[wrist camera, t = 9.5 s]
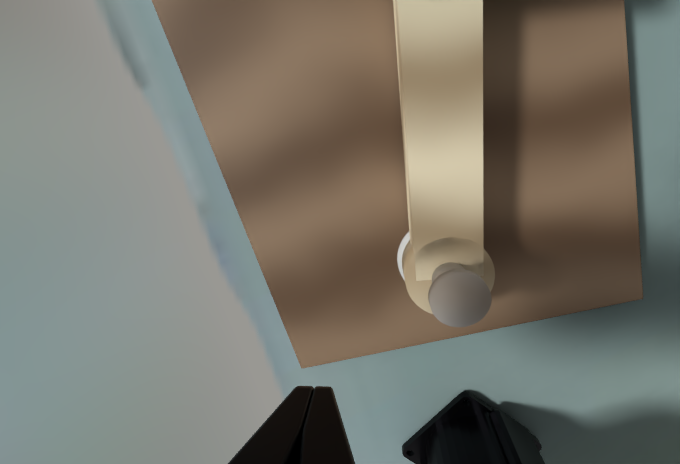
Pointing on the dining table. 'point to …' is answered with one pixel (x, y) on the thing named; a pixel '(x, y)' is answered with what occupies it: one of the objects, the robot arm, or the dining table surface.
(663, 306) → the dining table surface
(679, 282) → the dining table surface
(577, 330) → the dining table surface
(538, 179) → the base board
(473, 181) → the link
